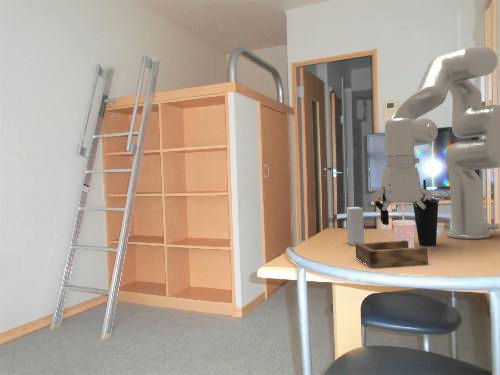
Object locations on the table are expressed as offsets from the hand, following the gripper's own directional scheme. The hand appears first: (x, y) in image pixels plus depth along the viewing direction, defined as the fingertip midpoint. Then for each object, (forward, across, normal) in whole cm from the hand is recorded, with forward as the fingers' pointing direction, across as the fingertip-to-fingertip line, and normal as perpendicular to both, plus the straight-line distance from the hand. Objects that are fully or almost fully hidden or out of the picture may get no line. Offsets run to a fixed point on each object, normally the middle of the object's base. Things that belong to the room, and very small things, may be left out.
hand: (402, 223), depth 110 cm
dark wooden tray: (+9, +7, +8) cm, 14 cm away
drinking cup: (+8, -12, -10) cm, 17 cm away
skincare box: (+8, +7, -20) cm, 22 cm away
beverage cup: (+8, -1, 0) cm, 9 cm away
